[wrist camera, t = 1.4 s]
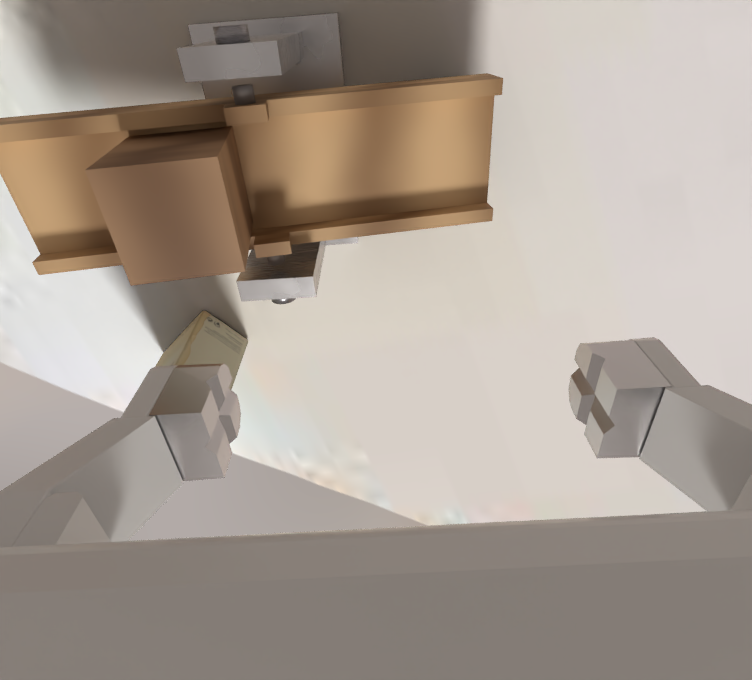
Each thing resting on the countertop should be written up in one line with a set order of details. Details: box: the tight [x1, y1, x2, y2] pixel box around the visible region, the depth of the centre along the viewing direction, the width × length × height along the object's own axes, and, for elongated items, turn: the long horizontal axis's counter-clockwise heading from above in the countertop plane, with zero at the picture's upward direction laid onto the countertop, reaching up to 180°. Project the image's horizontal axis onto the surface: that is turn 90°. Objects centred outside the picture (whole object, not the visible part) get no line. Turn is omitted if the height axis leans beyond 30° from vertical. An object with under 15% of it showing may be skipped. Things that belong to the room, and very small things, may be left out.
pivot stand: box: [177, 13, 358, 304], centre depth 26 cm, size 8×13×9 cm, turn 4°
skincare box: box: [155, 311, 248, 390], centre depth 34 cm, size 6×4×12 cm
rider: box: [85, 126, 253, 286], centre depth 22 cm, size 5×5×6 cm
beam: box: [0, 73, 503, 275], centre depth 25 cm, size 24×8×6 cm, turn 94°
